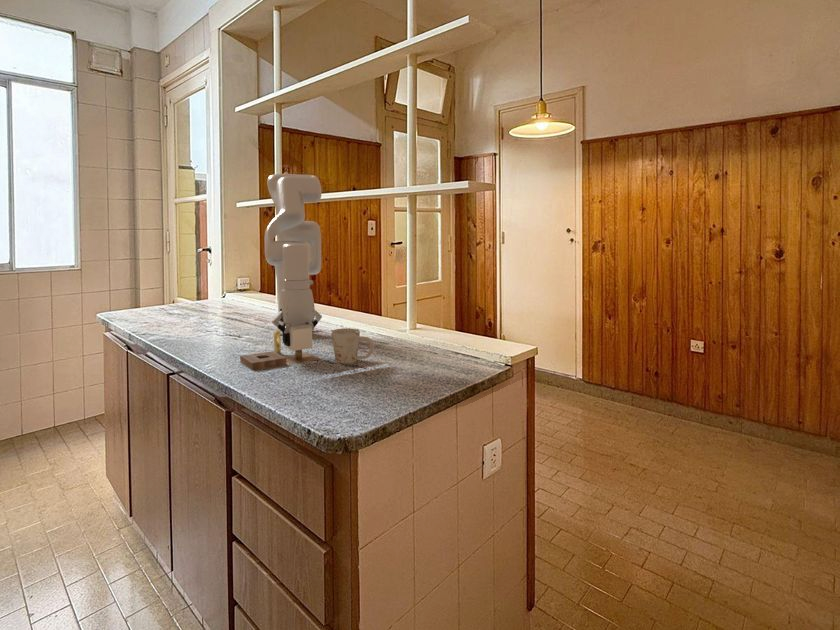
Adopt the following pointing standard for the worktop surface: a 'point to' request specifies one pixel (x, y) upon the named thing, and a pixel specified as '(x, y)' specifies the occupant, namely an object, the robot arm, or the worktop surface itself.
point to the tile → (304, 358)
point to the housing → (300, 336)
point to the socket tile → (263, 360)
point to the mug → (348, 345)
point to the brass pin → (277, 342)
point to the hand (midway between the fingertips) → (298, 343)
